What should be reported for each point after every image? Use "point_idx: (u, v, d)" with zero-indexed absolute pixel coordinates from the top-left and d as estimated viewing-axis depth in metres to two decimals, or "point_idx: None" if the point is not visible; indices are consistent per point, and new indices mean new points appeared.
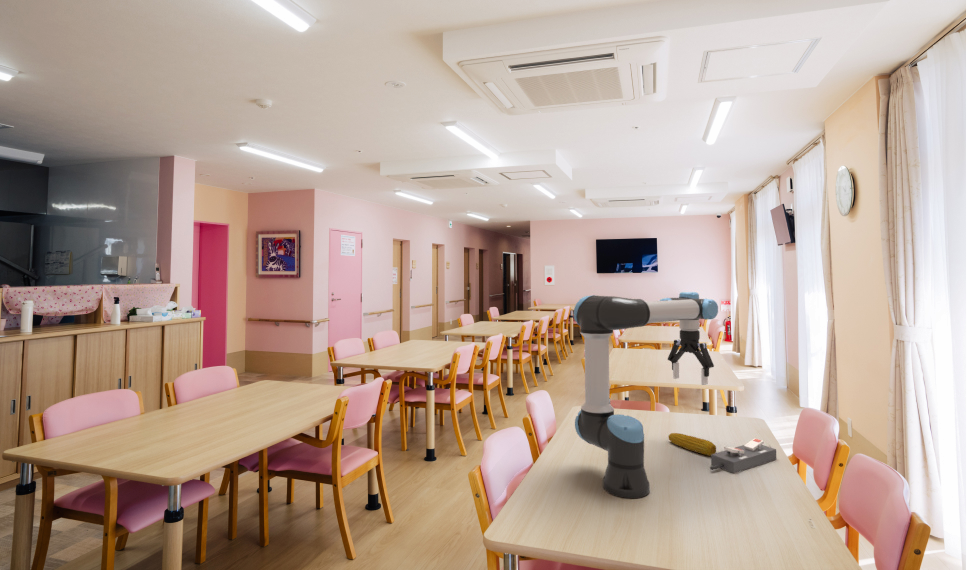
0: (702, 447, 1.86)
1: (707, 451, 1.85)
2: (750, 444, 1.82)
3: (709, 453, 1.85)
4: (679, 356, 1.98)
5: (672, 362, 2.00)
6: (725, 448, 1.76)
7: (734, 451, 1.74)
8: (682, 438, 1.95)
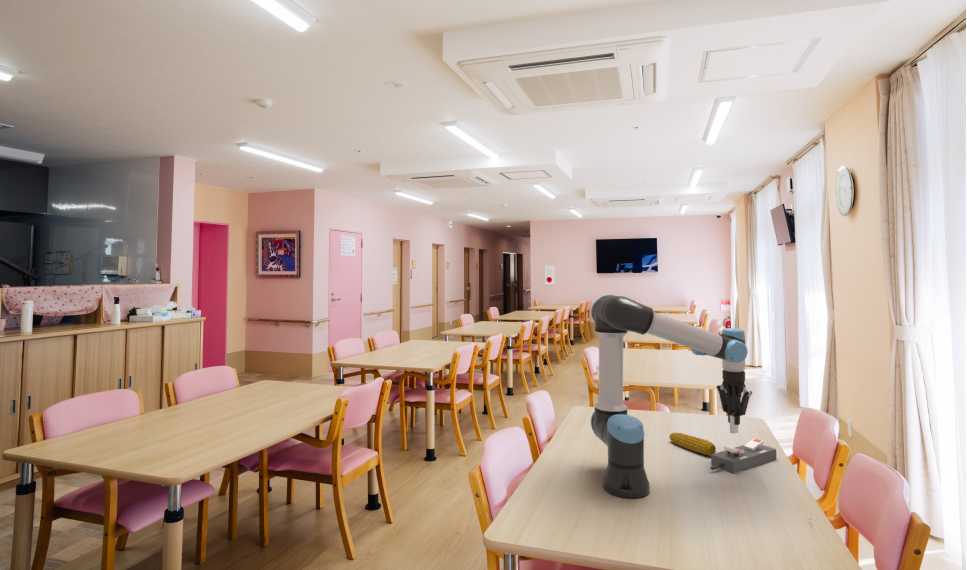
0: (701, 447, 1.86)
1: (706, 451, 1.85)
2: (750, 444, 1.82)
3: (708, 453, 1.85)
4: (732, 403, 1.77)
5: (729, 414, 1.77)
6: (725, 448, 1.76)
7: (734, 451, 1.74)
8: (682, 438, 1.95)
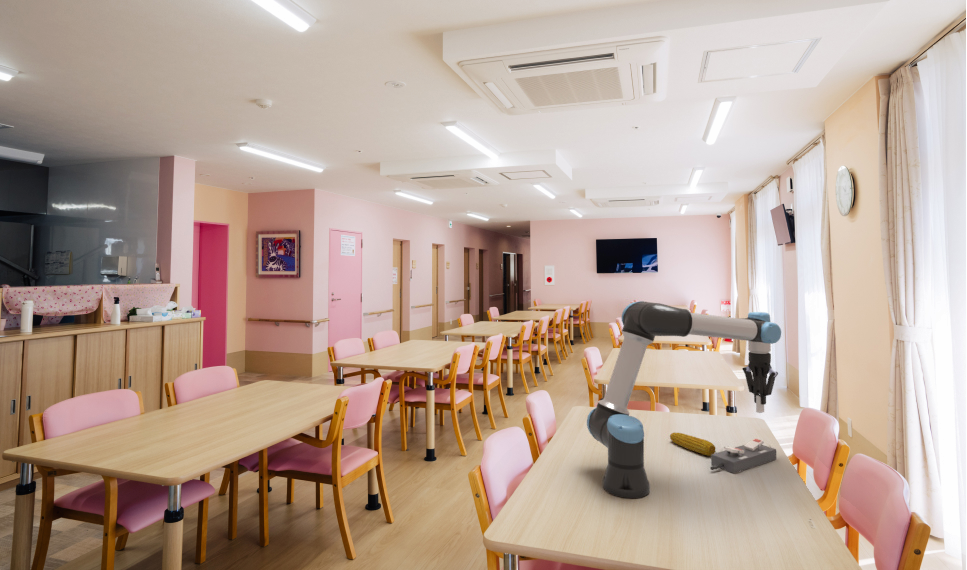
0: (701, 447, 1.86)
1: (706, 451, 1.85)
2: (750, 444, 1.82)
3: (708, 453, 1.85)
4: (758, 384, 1.85)
5: (755, 394, 1.84)
6: (725, 448, 1.76)
7: (734, 451, 1.74)
8: (682, 438, 1.95)
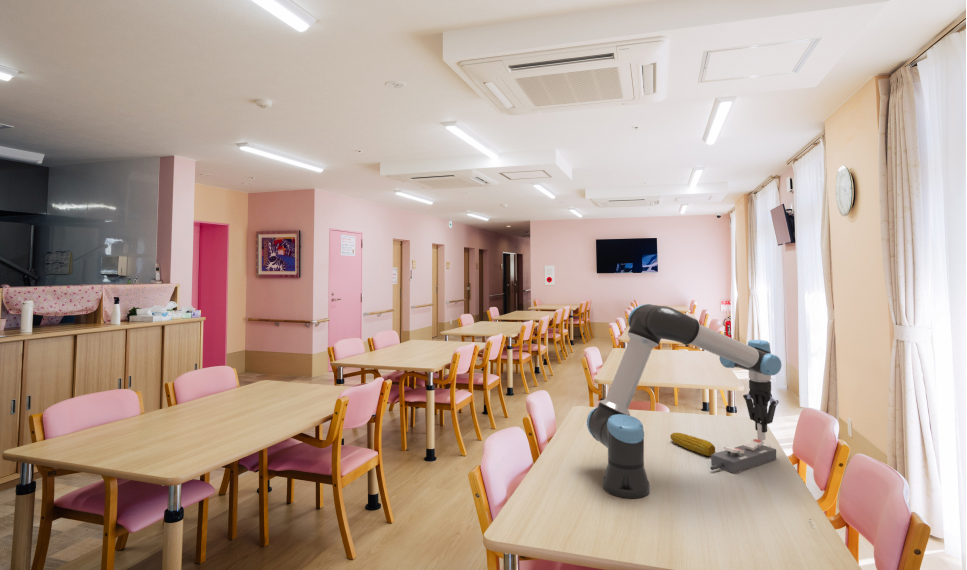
0: (701, 447, 1.86)
1: (705, 451, 1.85)
2: (750, 444, 1.82)
3: (707, 453, 1.85)
4: (758, 412, 1.85)
5: (756, 422, 1.85)
6: (725, 448, 1.76)
7: (734, 451, 1.74)
8: (682, 438, 1.95)
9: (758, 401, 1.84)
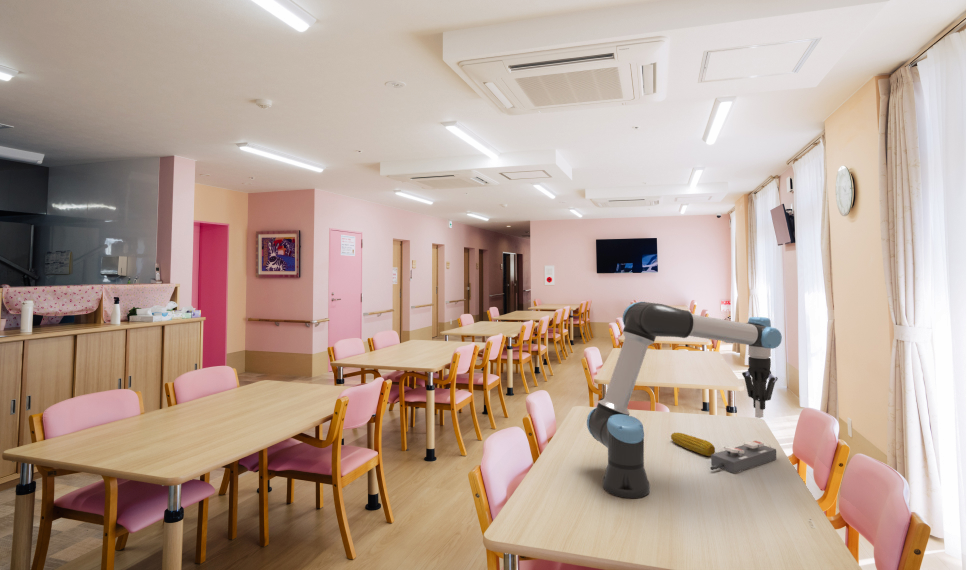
0: (700, 447, 1.86)
1: (705, 451, 1.85)
2: (750, 443, 1.82)
3: (707, 453, 1.84)
4: (757, 389, 1.85)
5: (755, 399, 1.84)
6: (725, 448, 1.76)
7: (734, 451, 1.74)
8: (682, 438, 1.96)
9: (757, 378, 1.84)
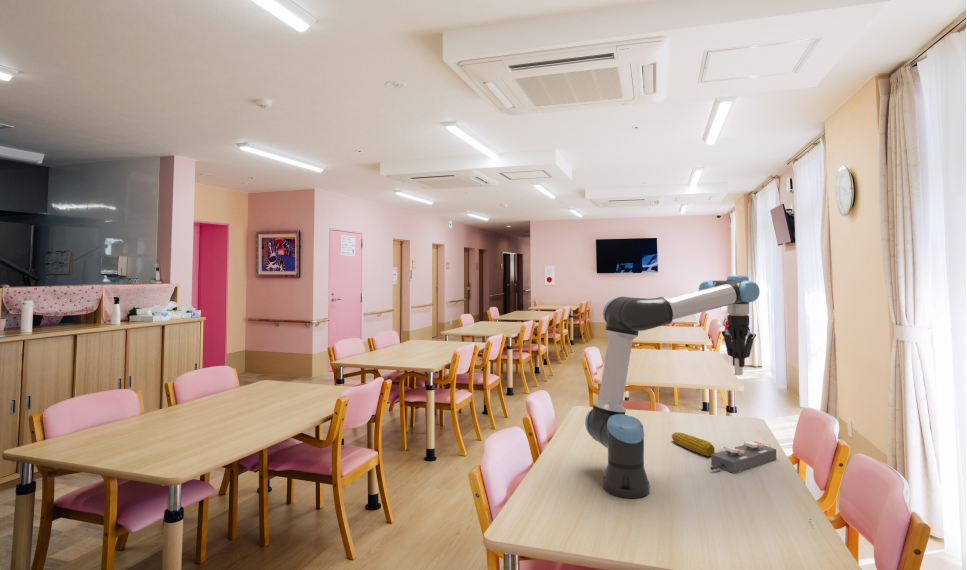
0: (700, 447, 1.86)
1: (704, 451, 1.85)
2: (750, 443, 1.82)
3: (706, 453, 1.84)
4: (736, 347, 1.85)
5: (734, 357, 1.84)
6: (725, 448, 1.76)
7: (734, 451, 1.74)
8: (683, 437, 1.96)
9: (736, 336, 1.84)
